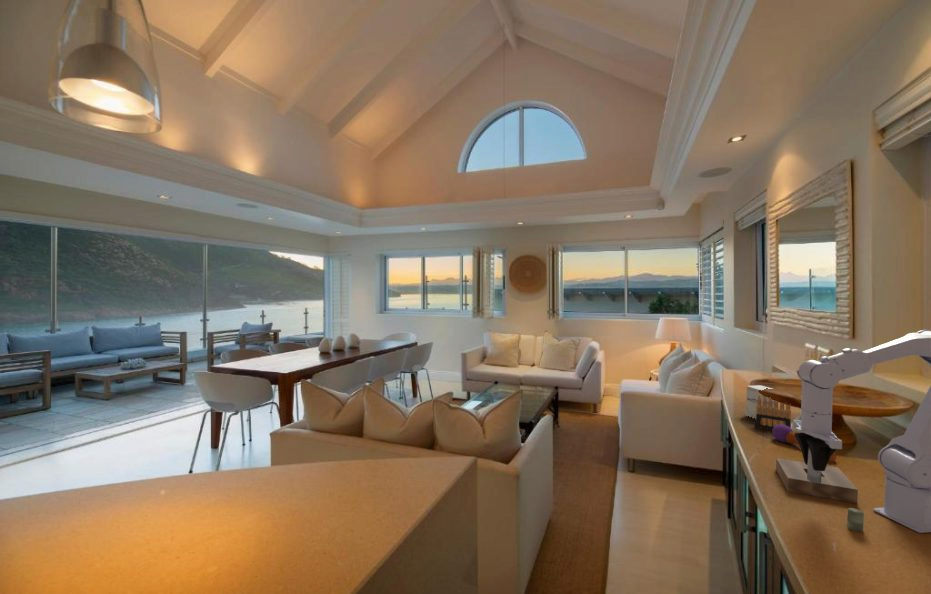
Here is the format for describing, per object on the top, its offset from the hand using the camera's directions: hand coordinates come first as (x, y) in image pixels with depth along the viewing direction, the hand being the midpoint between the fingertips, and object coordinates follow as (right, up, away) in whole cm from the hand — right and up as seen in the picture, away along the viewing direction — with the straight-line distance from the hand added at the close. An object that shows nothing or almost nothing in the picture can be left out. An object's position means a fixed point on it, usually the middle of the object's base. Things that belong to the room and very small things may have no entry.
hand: (814, 467), depth 102 cm
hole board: (+10, -10, +12) cm, 19 cm away
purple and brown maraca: (+27, -10, +37) cm, 47 cm away
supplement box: (+35, -8, +69) cm, 78 cm away
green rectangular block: (+2, -11, -8) cm, 13 cm away
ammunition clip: (+31, -9, +57) cm, 65 cm away
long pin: (0, -3, 0) cm, 3 cm away
